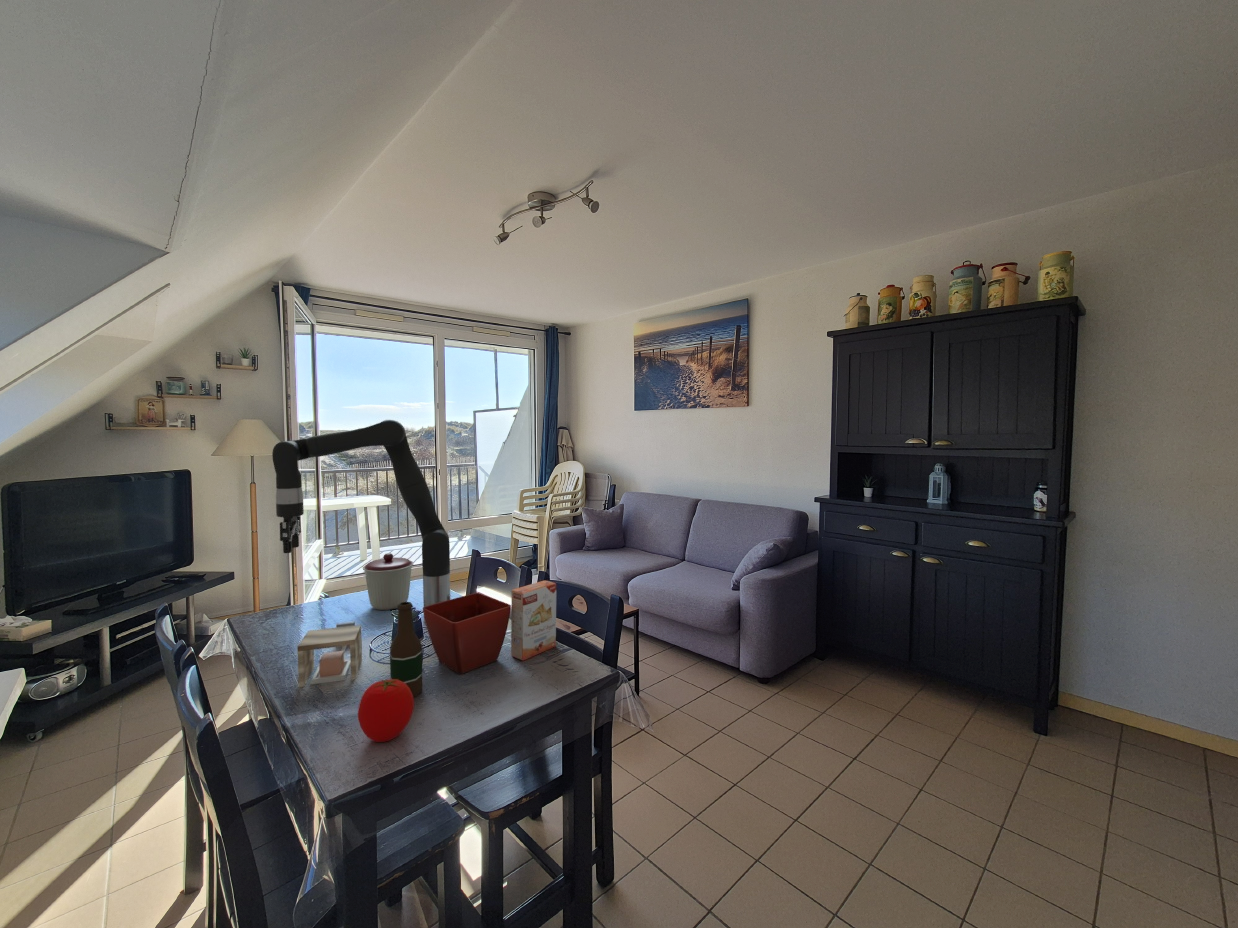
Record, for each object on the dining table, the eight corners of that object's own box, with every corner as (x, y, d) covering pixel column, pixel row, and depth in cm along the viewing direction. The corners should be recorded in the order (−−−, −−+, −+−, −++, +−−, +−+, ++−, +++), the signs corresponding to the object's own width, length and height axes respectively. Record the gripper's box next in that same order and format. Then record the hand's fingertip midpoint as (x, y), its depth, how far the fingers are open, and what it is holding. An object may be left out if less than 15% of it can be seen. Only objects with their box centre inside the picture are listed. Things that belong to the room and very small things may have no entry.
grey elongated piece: (332, 647, 157) (331, 624, 156) (360, 643, 159) (360, 620, 159) (311, 687, 132) (310, 660, 131) (345, 682, 134) (344, 655, 134)
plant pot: (422, 661, 148) (421, 606, 147) (478, 642, 162) (478, 591, 161) (454, 683, 135) (453, 623, 134) (513, 660, 149) (512, 605, 148)
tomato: (346, 745, 108) (345, 688, 108) (386, 718, 118) (385, 666, 118) (386, 757, 104) (385, 698, 104) (423, 728, 114) (422, 674, 114)
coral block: (344, 667, 141) (343, 650, 141) (340, 675, 136) (340, 658, 136) (324, 670, 139) (323, 653, 139) (319, 678, 134) (319, 660, 134)
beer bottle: (402, 703, 125) (400, 610, 124) (384, 695, 129) (382, 604, 128) (429, 690, 132) (427, 601, 130) (410, 682, 136) (408, 596, 134)
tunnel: (309, 673, 141) (308, 630, 140) (362, 666, 145) (361, 624, 144) (299, 692, 130) (297, 646, 130) (356, 683, 135) (354, 639, 134)
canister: (417, 608, 193) (416, 555, 192) (365, 617, 184) (363, 561, 183) (410, 595, 209) (409, 546, 207) (362, 602, 200) (361, 551, 198)
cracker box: (523, 662, 148) (523, 593, 147) (510, 656, 152) (509, 589, 151) (557, 646, 159) (557, 582, 158) (544, 641, 163) (544, 578, 162)
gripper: (296, 503, 158) (298, 554, 159) (308, 498, 172) (309, 544, 173) (269, 504, 156) (271, 555, 157) (283, 499, 169) (284, 546, 170)
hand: (291, 550), depth 165 cm, fingers open, 8 cm apart
